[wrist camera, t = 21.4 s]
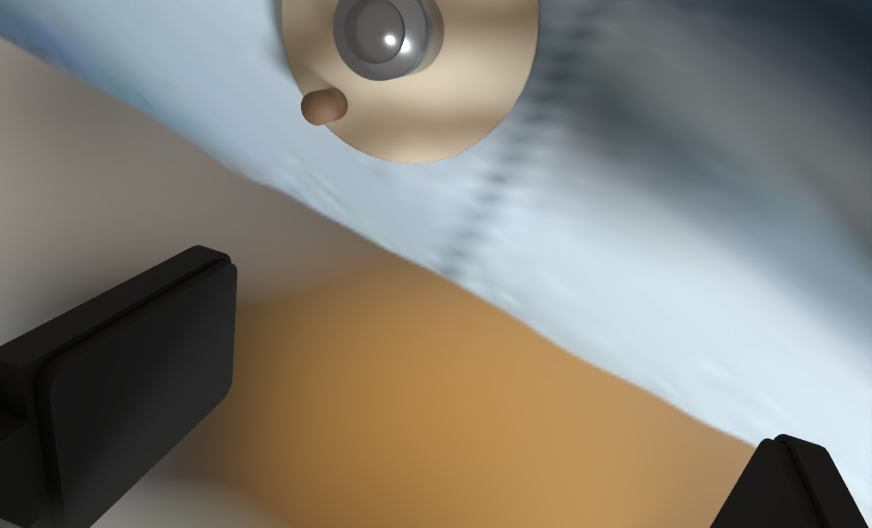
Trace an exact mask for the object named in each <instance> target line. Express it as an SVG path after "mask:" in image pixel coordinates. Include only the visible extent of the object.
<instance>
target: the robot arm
mask: <svg viewBox="0 0 872 528" xmlns="http://www.w3.org/2000/svg"><path fill="white" fill-rule="evenodd" d="M236 289H237V268H236V266H235V265H234V264H231V259H230V257H229V256H228V255H227V254H225V253H222V252H219V251H216V250H213V249H210V248H207V247H204V246H200V245H196V246H193V247H191V248H189V249H187V250H185V251H183V252H181V253H179V254H177V255H176V256H174V257H172V258H170V259H168V260H166V261H164V262H162V263H160V264H158V265H156V266H154V267H152V268H150V269H149V270H147V271H145V272H143V273H141V274H139V275H137V276H135V277H133V278H131V279H129V280H128V281H125V282H123V283H121V284H119V285H118V286H116V287H114V288H112V289H110V290H108V291H106V292H104V293H102V294H100V295H98V296H97V297H94V298H92V299H91V300H89V301H87V302H85V303H83V304H81V305H79V306H77V307H75V308H73V309H71V310H69V311H67V312H65V313H63V314H62V315H60V316H58V317H56V318H54V319H52V320H50V321H48V322H46V323H44V324H42V325H41V326H38V327H36V328H35V329H33V330H31V331H29V332H27V333H25V334H23V335H21V336H19V337H17V338H16V339H13V340H11V341H10V342H8V343H6V344H4V345H2V346H0V528H90V527H91V526H92V525H93V524H94V523H95V522H96V521H97V520H98V519H99V518H100V517H101V516H102V515H103V514H104V513H105V512H106V511H107V510H109V509H110V508H111V507H112V506H113V505H114V504H115V503H116V502H117V501H118V500H119V499H120V498H121V497H122V496H123V495H124V494H125V493H126V492H127V491H128V490H129V489H130V488H131V487H132V486H133V485H135V484H136V483H137V482H138V481H139V480H140V479H141V478H142V477H143V476H144V475H145V474H146V473H147V472H148V471H149V470H150V469H151V468H152V467H153V466H154V465H155V464H156V463H158V461H160V460H161V459H162V458H163V457H164V456H165V455H166V454H167V453H168V452H169V451H170V450H171V449H172V448H173V447H174V446H175V445H176V444H177V443H178V442H179V441H180V440H181V439H183V438H184V437H185V436H186V434H188V433H189V432H190V431H191V430H192V429H193V428H194V427H195V426H196V425H197V424H198V423H199V422H200V421H201V420H202V419H203V418H204V417H205V416H206V415H207V414H208V413H210V412H211V411H212V410H213V409H214V408H215V407H216V406H217V405H218V404H219V403H220V402H221V401H222V400H223V399H224V398H225V397H226V395H227V393H228V391H229V389H230V387H231V383H232V372H233V353H234V332H235V311H236ZM710 528H869V527H868V526H867V524H866V522H865V520H864V518H863V516H862V514H861V512H860V511H859V509H858V507H857V505H856V503H855V501H854V499H853V497H852V496H851V494H850V492H849V490H848V488H847V486H846V484H845V482H844V481H843V479H842V477H841V475H840V473H839V471H838V469H837V467H836V466H835V464H834V462H833V460H832V458H831V456H830V454H829V453H828V451H827V450H826V449H825V448H824V447H822V446H820V445H817V444H814V443H811V442H808V441H805V440H802V439H798V438H795V437H792V436H789V435H786V434H780V435H778V436H777V437H775V438H774V440H772V439H769V438H767V439H764V440H763V441H761V443H760V444H759V445H758V447H757V449H756V451H755V452H754V454H753V456H752V457H751V459H750V461H749V462H748V464H747V466H746V467H745V469H744V471H743V472H742V474H741V476H740V478H739V479H738V481H737V483H736V484H735V486H734V488H733V489H732V491H731V493H730V494H729V496H728V498H727V500H726V501H725V503H724V505H723V507H722V508H721V510H720V511H719V513H718V515H717V517H716V518H715V520H714V522H713V523H712V525H711V527H710Z"/></svg>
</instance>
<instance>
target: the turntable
mask: <svg viewBox="0 0 872 528" xmlns="http://www.w3.org/2000/svg"><path fill="white" fill-rule="evenodd" d="M434 1H435V2H436V4H437V5H438V7H439V9H440V12H441V14H442V17H443V22H444V40H443V45H442V48H441V50H440V53H439V54H438V56H437V58H436V59H435V61H434V62H433V63H432V64H431V65H430V66H429V67H428V68H427V69H425V70H423V71H422V72H419V73H417V74H413V75H409V76H405V77H400V78H395V79H391V80H386V81H373V80H368V79H365V78H363V77H361V76H359V75H357V74H356V73H354V72H353V71H352V70H351V69H349V67H348V66H347V65H346V64H345V63H344V61H343V60H342V59H341V57H340V55H339V53H338V51H337V48H336V45H335V42H334V37H333V18H334V13H335V9H336V7H337V4H338V2H339V0H282V31H283V40H284V46H285V50H286V55H287V59H288V62H289V65H290V68H291V71H292V74H293V77H294V79H295V81H296V83H297V85H298V87H299V90H300V92H301V93H302V95H303V97H304V98H303V99H302V102H301V111H302V114H303V116H304V118H305V119H306V120H307V121H308V122H309V123H311V124H313V125H323V124H324V125H325V126H326V127H327V128H328V129H329V130H330V131H331V132H333V133H334V134H335V135H336V136H337V137H339V138H340V139H341V140H342V141H344V142H345V143H347V144H349V145H350V146H352V147H353V148H355V149H357V150H359V151H361V152H363V153H365V154H367V155H370V156H372V157H376V158H379V159H382V160H385V161H391V162H397V163H412V164H416V163H426V162H433V161H437V160H441V159H445V158H448V157H450V156H453V155H455V154H458V153H460V152H462V151H464V150H466V149H467V148H469V147H471V146H473V145H474V144H476V143H477V142H478V141H480V140H481V139H482V138H484V137H485V136H486V135H488V134H489V133H490V132H491V131H492V130H493V129H494V128H495V127H496V126H497V125H498V124H499V123H500V122H501V121H502V120H503V119H504V118H505V117H506V116H507V114H508V113H509V112H510V110H511V109H512V108H513V107H514V105H515V104H516V102H517V100H518V98H519V97H520V95H521V93H522V92H523V90H524V88H525V85H526V83H527V81H528V78H529V76H530V74H531V71H532V67H533V64H534V60H535V57H536V52H537V46H538V40H539V27H540V12H539V0H434Z"/></svg>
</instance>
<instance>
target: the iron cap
mask: <svg viewBox="0 0 872 528" xmlns="http://www.w3.org/2000/svg"><path fill="white" fill-rule="evenodd" d="M333 37H334V42H335V45H336V48H337V51H338V53H339V55H340V57H341V59H342V60H343V61H344V63H345V64H346V65H347V66H348V67H349V69H351V70H352V71H353V72H354V73H356V74H357V75H359V76H361V77H363V78H365V79H368V80H373V81H386V80H391V79H395V78H400V77H405V76H409V75H413V74H417V73H419V72H422V71H423V70H425V69H427V68H428V67H429V66H430V65H431V64H432V63H433V62H434V61H435V59H436V58H437V56H438V54H439V53H440V50H441V48H442V45H443V40H444V22H443V17H442V14H441V12H440V9H439V7H438V5H437V4H436V2H435V1H434V0H339V2H338V4H337V7H336V9H335V13H334V18H333Z"/></svg>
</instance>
